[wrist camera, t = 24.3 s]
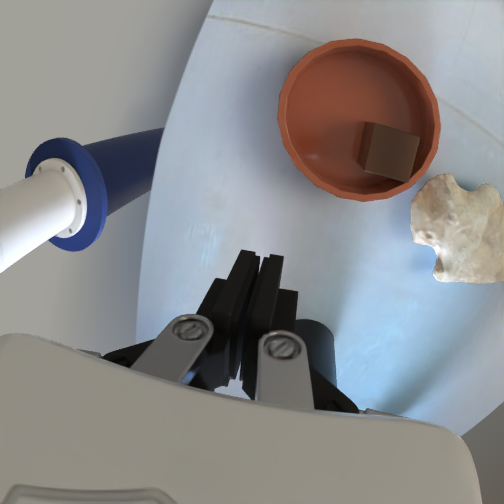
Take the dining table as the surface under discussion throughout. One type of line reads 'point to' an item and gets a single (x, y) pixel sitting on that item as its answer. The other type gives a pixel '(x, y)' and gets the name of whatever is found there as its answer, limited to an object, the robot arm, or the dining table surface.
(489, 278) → the rock
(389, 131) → the block
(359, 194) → the bowl
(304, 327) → the water bottle
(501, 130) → the dining table surface
